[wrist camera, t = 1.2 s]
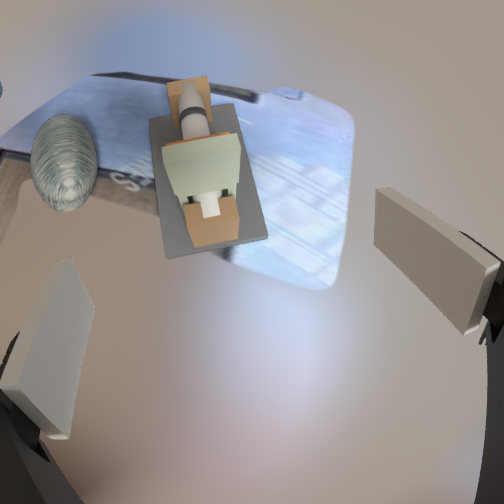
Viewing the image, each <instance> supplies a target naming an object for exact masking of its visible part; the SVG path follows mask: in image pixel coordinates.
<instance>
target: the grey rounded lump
mask: <svg viewBox="0 0 504 504" xmlns="http://www.w3.org/2000/svg"><path fill="white" fill-rule="evenodd" d="M30 169H31V176H32V179H33V182H34V185H35V187H36V189H37V191H38V193H39V194H40V196H41V198H42V199H43V200H44V201H45V202H46V203H47V204H48V205H49V206H50V207H51V208H53V209H54V210H56V211H60V212H70V211H73V210H75V209H77V208H79V207H80V206H82V205H83V204H84V203H85V202H86V200H87V199H88V197H89V196H90V194H91V192H92V190H93V187H94V184H95V181H96V177H97V170H98V161H97V155H96V151H95V147H94V145H93V142H92V139H91V137H90V135H89V133H88V132H87V130H86V128H85V126H84V125H83V124H82V123H81V122H80V121H79V120H78V119H77V118H75V117H73V116H71V115H67V114H63V115H57V116H53V117H52V118H50V119H49V120H47V121H46V122H45V123H44V124H43V125H42V127H41V128H40V130H39V131H38V133H37V135H36V137H35V140H34V143H33V146H32V151H31V158H30Z"/></svg>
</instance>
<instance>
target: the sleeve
mask: <svg viewBox="0 0 504 504" xmlns="http://www.w3.org/2000/svg"><path fill="white" fill-rule="evenodd" d="M162 156H163V164H164V166H165V169H166V172H167V175H168V177H169V180H170V183H171V186H172V188H173V191H174V194H175V195H177V196H178V198H179V201H180V204H181V207H182V210H183V212H184V205H189V204H193V203H194V201H193V195H198V194H203V193H208V192H213V191H218V190H222V194H223V198H224V197H229V196H235V201H236V186H237V183H239V171H240V156H241V146H240V143H239V139H238V135H237V133H233V134H227V135H221V136H215V137H210V138H204V139H199V140H194V141H189V142H184V143H179V144H174V145H169V146H165V147H162ZM184 215H185V212H184Z"/></svg>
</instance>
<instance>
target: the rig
mask: <svg viewBox="0 0 504 504" xmlns="http://www.w3.org/2000/svg"><path fill="white" fill-rule="evenodd" d="M167 90H168V98H169V102H170V107H171V111H172V114H171V115H166V116H161V117H157V118H153V119H149V123H150V135H151V147H152V157H153V167H154V176H155V185H156V193H157V201H158V209H159V216H160V223H161V230H162V237H163V243H164V250H165V255H166V257H167V259H172V258H177V257H182V256H187V255H191V254H196V253H201V252H206V251H211V250H216V249H220V248H225V247H230V246H235V245H240V244H245V243H250V242H255V241H260V240H265V239H267V237H268V233H267V229H266V225H265V221H264V217H263V213H262V209H261V205H260V201H259V197H258V194H257V190H256V186H255V182H254V178H253V174H252V171H251V167H250V163H249V159H248V156H247V152H246V148H245V144H244V141H243V137H242V133H241V130H240V126H239V122H238V118H237V115H236V111H235V107H234V104H226V105H220V106H213V107H211V100H210V87H209V83H208V78H207V76H202V77H196V78H190V79H185V80H179V81H174V82H169V83H167ZM225 132H229V134H233V133H237V135H238V139H239V143H240V146H241V156H240V171H239V183H237V186H236V201H235V196H229V197H224V198H223V194H222V190H218V191H213V192H208V193H203V194H198V195H193V201H194V203H193V204H189V205H184V212H185V215H184V212H183V210H182V207H181V204H180V201H179V198H178V196H177V195H175V194H174V191H173V188H172V186H171V183H170V180H169V177H168V175H167V172H166V169H165V166H164V164H163V156H162V147H165V146H166V144H167V143H172V142H177V141H181V140H186V139H191V138H197V137H202V136H207V135H213V134H219V133H225Z"/></svg>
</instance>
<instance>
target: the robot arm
mask: <svg viewBox="0 0 504 504" xmlns="http://www.w3.org/2000/svg"><path fill="white" fill-rule="evenodd" d="M1 95H2V85H1V82H0V97H1ZM375 200H376V201H375V227H374V245H375V246H376V247H377V248H378V249H379V250H380V251H381V252H382V253H383V254H384V255H385V256H386V257H387V258H388V259H389V260H390V261H391V262H393V263H394V264H395V265H396V266H397V267H398V268H399V269H400V270H401V271H402V272H403V273H404V274H405V275H406V276H407V277H408V278H409V279H410V280H411V281H412V282H413V283H414V284H415V285H416V286H417V287H418V288H419V289H420V290H421V291H422V292H423V293H424V294H425V295H426V296H427V297H428V298H429V299H430V301H431V302H432V303H433V304H434V305H435V306H436V307H437V308H438V309H439V310H440V311H441V312H442V313H443V314H444V315H445V316H446V317H447V319H448V320H449V321H450V322H451V323H452V324H453V325H454V326H455V327H456V328H457V329H458V330H459V332H461V334H462V335H463V336H464V335H466V334H468V333H470V332H472V331H473V330H475V329H477V328H478V326H479V324H480V321H481V319H482V316H483V315H484V316H485V317H486V318H487V319H488V322H487V324H486V327H485V329H484V331H483V333H482V336H481V338H480V341H479V344H480V345H481V344H482V342H483V340H484V338H486V344H485V345H487V369H488V371H487V373H488V388H487V389H488V390H487V415H486V430H485V441H484V449H483V457H482V465H481V471H480V477H479V483H478V488H477V493H476V498H475V502H474V504H504V261H502V260H501V259H500V258H498V257H497V256H496V255H495V254H493V253H492V252H491V251H489V250H488V249H486V248H485V247H483V246H482V245H481V244H480V243H478V242H475V240H474V239H473V238H471V237H470V236H469V235H467V234H465V233H463V232H461V231H458V230H456V229H455V228H453V227H452V226H450V225H449V224H447V223H445V222H444V221H443V220H441V219H440V218H438V217H437V216H435V215H434V214H432V213H431V212H429V211H428V210H426V209H424V208H423V207H421V206H420V205H418V204H417V203H415V202H413V201H412V200H410V199H409V198H407V197H405V196H404V195H402V194H400V193H399V192H397V191H395V190H393V189H392V188H390V187H387V188H382V189H376V199H375ZM95 311H96V308H95V306H94V304H93V302H92V300H91V298H90V296H89V294H88V292H87V290H86V288H85V286H84V284H83V282H82V279H81V277H80V275H79V273H78V271H77V268H76V266H75V264H74V262H73V259H72V257H69V258H66V259H62V260H58V261H56V263H55V265H54V266H53V268H52V270H51V272H50V274H49V275H48V277H47V279H46V281H45V283H44V284H43V286H42V288H41V290H40V292H39V294H38V296H37V298H36V300H35V302H34V304H33V306H32V308H31V310H30V312H29V314H28V316H27V318H26V321H25V322H24V325H23V327H22V329H21V331H20V332H18V334H17V335H16V336H15V337H14V339H13V340H12V341H11V343H10V345H9V347H8V349H7V352H6V355H5V357H4V359H3V364H1V366H0V504H84V503H83V501H82V500H81V499H80V497H79V496H78V495H77V493H76V492H75V491H74V489H73V488H72V486H71V485H70V483H69V482H68V481H67V479H66V477H65V476H64V475H63V473H62V471H61V470H60V468H59V467H58V465H57V464H56V462H55V460H54V459H53V457H52V455H51V454H50V452H49V450H48V449H47V447H46V446H45V444H44V443H43V442H42V441H41V440H40V439H39V435H40V430H41V431H43V432H44V433H45V434H46V435H47V436H48V437H49V438H50V439H69V437H70V430H71V423H72V416H73V410H74V404H75V398H76V392H77V388H78V382H79V377H80V372H81V368H82V363H83V359H84V354H85V350H86V346H87V341H88V337H89V333H90V329H91V325H92V322H93V317H94V314H95Z"/></svg>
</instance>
